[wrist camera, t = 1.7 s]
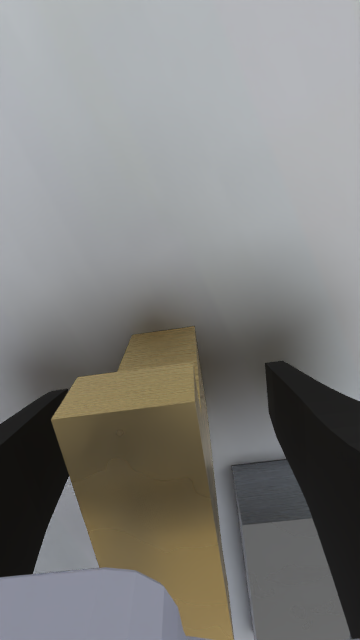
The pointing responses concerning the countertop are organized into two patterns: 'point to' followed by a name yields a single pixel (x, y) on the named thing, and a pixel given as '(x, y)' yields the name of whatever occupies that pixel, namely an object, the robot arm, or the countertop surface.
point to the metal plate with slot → (284, 558)
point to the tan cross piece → (151, 474)
